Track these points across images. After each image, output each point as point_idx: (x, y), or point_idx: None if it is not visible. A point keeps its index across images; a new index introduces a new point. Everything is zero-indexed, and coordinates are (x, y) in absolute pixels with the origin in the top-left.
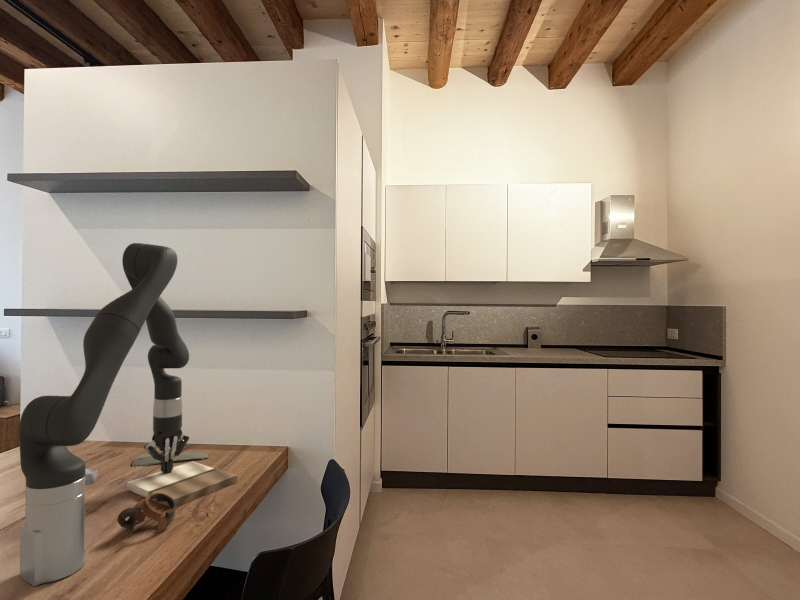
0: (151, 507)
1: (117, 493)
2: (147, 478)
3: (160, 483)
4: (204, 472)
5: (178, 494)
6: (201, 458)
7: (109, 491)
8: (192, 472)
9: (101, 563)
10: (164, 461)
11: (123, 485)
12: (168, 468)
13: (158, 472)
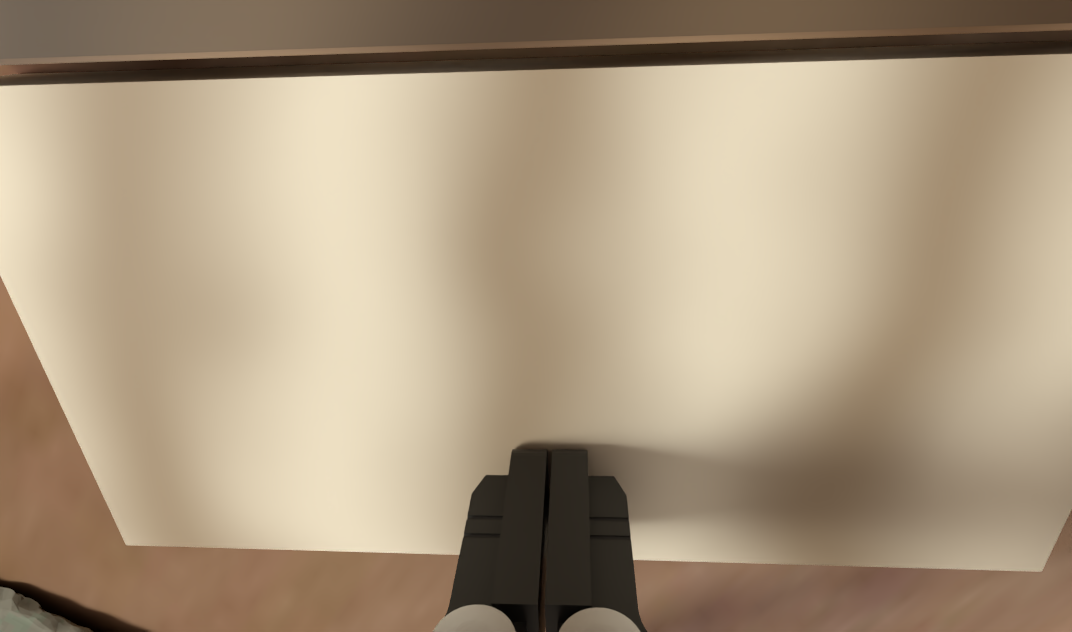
0: None
1: None
2: (831, 498)
3: (891, 213)
4: (119, 23)
5: None
6: (19, 600)
7: (1035, 591)
8: (288, 217)
9: None
10: (626, 630)
11: (861, 609)
12: (559, 496)
13: None
